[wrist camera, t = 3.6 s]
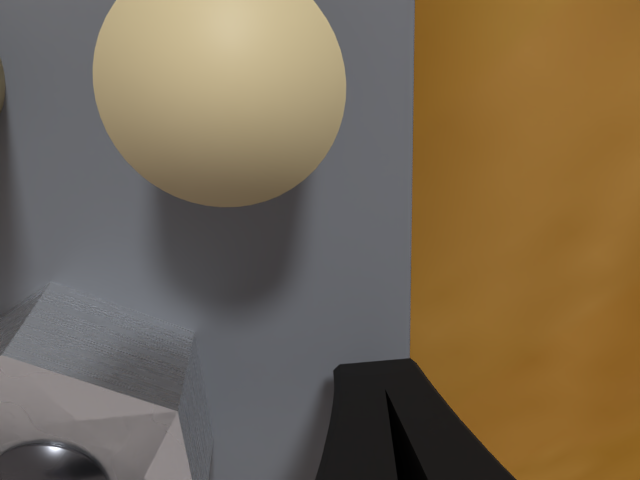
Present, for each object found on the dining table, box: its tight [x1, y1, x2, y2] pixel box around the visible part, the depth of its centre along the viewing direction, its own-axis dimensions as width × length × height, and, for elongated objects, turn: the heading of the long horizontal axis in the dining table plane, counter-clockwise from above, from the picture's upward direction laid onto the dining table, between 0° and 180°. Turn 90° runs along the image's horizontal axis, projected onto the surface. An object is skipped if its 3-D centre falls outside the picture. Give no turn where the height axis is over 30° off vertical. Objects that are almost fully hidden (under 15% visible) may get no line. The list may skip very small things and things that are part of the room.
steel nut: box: [0, 281, 214, 480], centre depth 10 cm, size 5×4×2 cm
